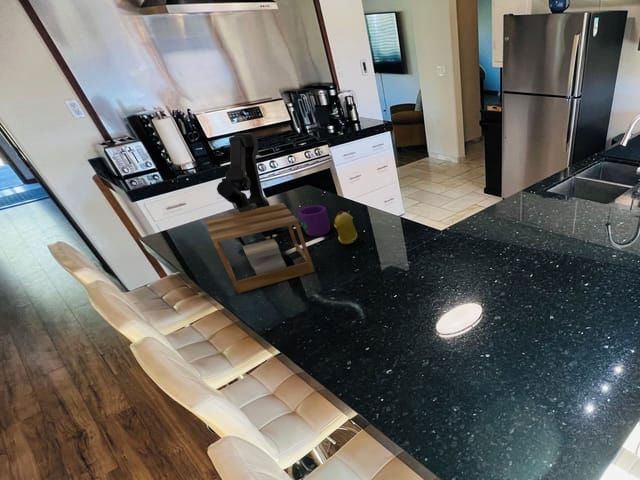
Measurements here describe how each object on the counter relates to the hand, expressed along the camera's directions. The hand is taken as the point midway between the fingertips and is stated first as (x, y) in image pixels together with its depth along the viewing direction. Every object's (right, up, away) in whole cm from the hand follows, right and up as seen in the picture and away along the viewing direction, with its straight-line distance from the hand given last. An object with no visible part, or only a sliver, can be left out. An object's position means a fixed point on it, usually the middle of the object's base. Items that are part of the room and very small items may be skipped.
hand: (259, 245), depth 151 cm
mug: (+10, +14, +26) cm, 31 cm away
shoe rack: (+5, -9, -1) cm, 10 cm away
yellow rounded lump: (+29, +6, +16) cm, 33 cm away
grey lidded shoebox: (+5, -9, -1) cm, 11 cm away
